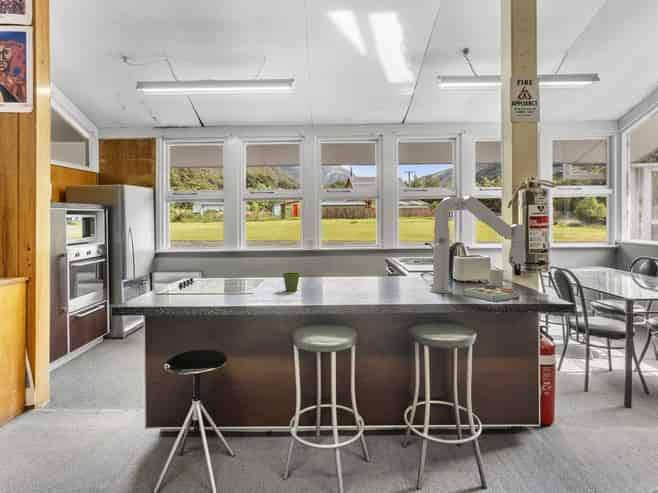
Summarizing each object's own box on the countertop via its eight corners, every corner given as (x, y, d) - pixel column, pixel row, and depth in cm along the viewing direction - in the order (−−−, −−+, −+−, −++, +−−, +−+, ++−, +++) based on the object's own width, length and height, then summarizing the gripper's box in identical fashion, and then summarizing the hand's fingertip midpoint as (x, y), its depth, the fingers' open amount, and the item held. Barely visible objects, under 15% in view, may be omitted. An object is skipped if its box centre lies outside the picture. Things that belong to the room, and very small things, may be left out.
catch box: (463, 295, 249) (463, 289, 249) (475, 293, 254) (475, 287, 254) (493, 301, 230) (493, 295, 230) (506, 299, 235) (506, 293, 235)
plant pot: (302, 291, 262) (302, 274, 261) (284, 292, 259) (284, 275, 258) (298, 288, 273) (298, 271, 273) (280, 289, 270) (280, 272, 269)
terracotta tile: (500, 291, 244) (500, 287, 243) (506, 290, 246) (506, 286, 246) (508, 293, 239) (508, 288, 239) (513, 292, 242) (513, 287, 242)
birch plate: (477, 293, 253) (477, 288, 253) (489, 291, 259) (489, 287, 259) (505, 299, 236) (505, 294, 236) (517, 297, 241) (517, 292, 241)
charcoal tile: (484, 288, 254) (484, 284, 254) (489, 287, 257) (489, 283, 256) (490, 289, 250) (491, 285, 250) (496, 288, 252) (496, 284, 252)
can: (493, 287, 273) (494, 269, 272) (485, 285, 282) (486, 267, 281) (506, 287, 275) (506, 269, 274) (497, 284, 284) (498, 267, 283)
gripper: (520, 243, 251) (519, 273, 253) (504, 245, 244) (503, 275, 245) (531, 244, 245) (531, 274, 246) (515, 246, 237) (514, 277, 239)
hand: (517, 275), depth 246 cm, fingers closed
